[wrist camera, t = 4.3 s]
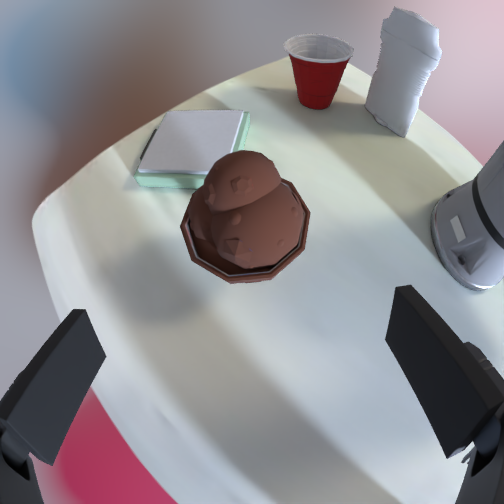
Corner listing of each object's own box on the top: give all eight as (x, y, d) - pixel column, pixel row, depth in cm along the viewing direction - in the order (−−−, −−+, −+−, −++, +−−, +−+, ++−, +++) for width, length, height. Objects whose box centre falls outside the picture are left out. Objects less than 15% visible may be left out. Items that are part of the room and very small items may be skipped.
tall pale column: (412, 135, 39) (454, 32, 19) (400, 142, 38) (443, 30, 18) (370, 100, 43) (394, 0, 23) (356, 105, 42) (378, -2, 22)
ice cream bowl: (186, 258, 32) (134, 182, 19) (257, 203, 35) (249, 108, 21) (244, 327, 29) (220, 290, 15) (318, 261, 31) (351, 181, 18)
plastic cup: (274, 89, 45) (273, 34, 34) (326, 83, 45) (333, 31, 34) (296, 123, 40) (300, 60, 29) (354, 115, 41) (367, 58, 30)
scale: (250, 122, 41) (248, 107, 38) (232, 192, 36) (229, 177, 33) (166, 122, 43) (161, 109, 40) (135, 186, 37) (126, 173, 35)
